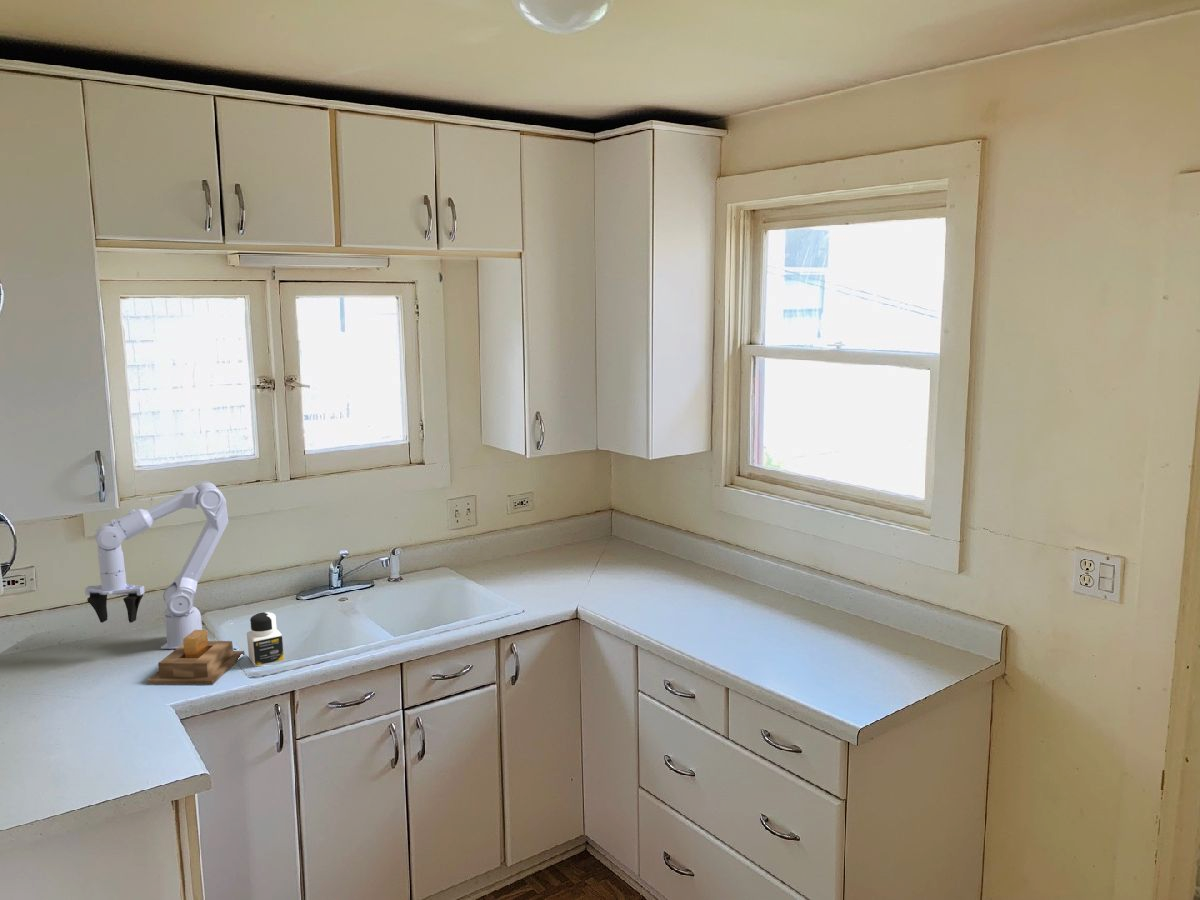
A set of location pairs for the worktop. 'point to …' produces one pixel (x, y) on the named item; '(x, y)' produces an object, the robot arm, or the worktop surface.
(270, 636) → the medicine bottle
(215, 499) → the robot arm
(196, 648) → the wooden peg block
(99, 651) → the worktop surface
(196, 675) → the well board
